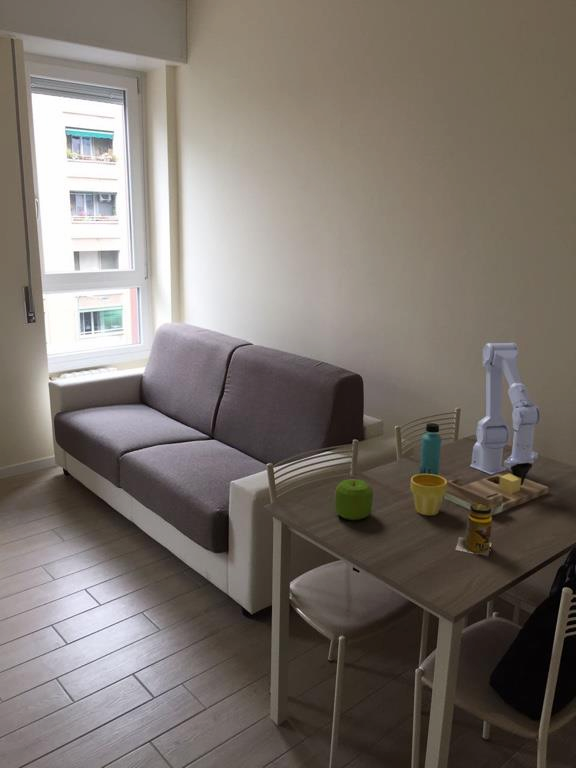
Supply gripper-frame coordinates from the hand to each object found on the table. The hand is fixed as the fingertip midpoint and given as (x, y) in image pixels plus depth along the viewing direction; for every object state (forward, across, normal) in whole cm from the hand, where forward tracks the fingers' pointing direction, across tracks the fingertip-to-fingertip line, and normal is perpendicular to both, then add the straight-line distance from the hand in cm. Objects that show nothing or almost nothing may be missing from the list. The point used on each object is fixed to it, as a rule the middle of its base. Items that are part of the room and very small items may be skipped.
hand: (518, 484), depth 204 cm
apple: (+3, -53, +18) cm, 56 cm away
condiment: (+3, -39, -14) cm, 42 cm away
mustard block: (+1, -4, 0) cm, 4 cm away
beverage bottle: (+3, -17, +22) cm, 28 cm away
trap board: (+3, -7, +3) cm, 8 cm away
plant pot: (+3, -33, +8) cm, 34 cm away
